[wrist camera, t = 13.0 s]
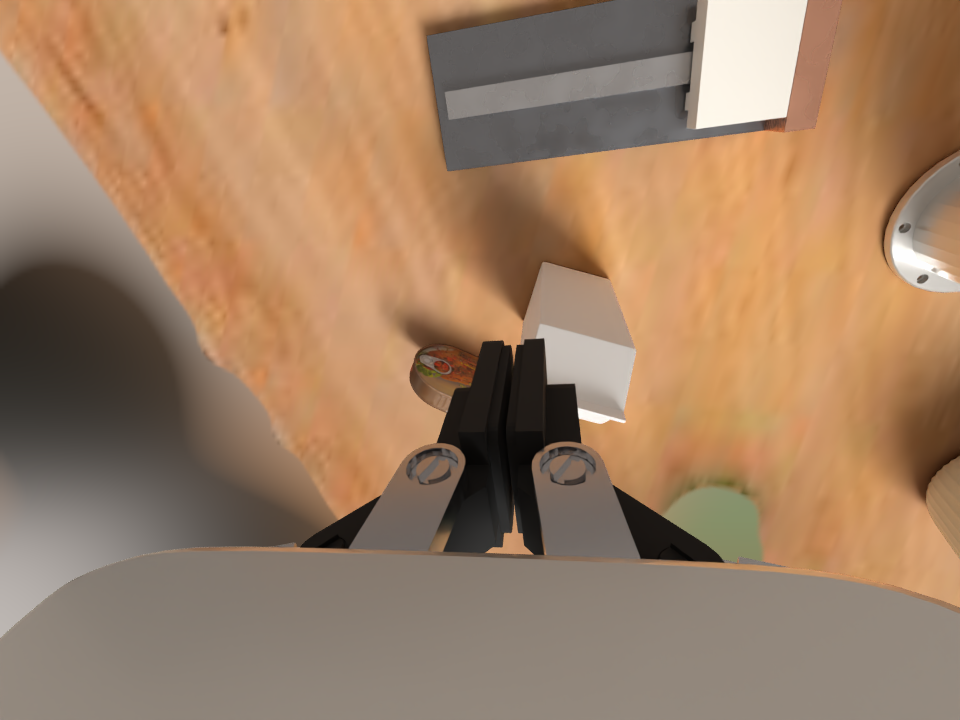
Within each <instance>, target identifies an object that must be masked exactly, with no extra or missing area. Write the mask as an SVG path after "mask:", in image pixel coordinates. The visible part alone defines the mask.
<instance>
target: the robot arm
mask: <svg viewBox="0 0 960 720" xmlns="http://www.w3.org/2000/svg"><path fill="white" fill-rule="evenodd" d="M884 250H885V257H886V260H887V262H888V265H889V267H890V268H891V270H892V271H893V272H894V274H895V275H896V276H898V277H899V278H900V279H902V280H903V281H904V282H906V283H908V284H910V285H912V286H914V287H916V288H919V289H923V290H926V291H930V292H940V293H949V292H960V150H959V151H957V152H956V153H954V154H952V155H950V156H949V157H947V158H945V159H944V160H942V161H940V162H939V163H938V164H936V165H935V166H934V167H932V168H931V169H930V170H928V171H927V172H926V173H925V174H923V175H922V176H921V177H920V178H919V179H918V180H917V181H916V182H915V183H914V184H913V185H912V186H911V187H910V188H909V190H908V191H907V192H906V194H905V195H904V196H903V197H902V199H901V200H900V201H899V203H898V205H897V206H896V208H895V210H894V212H893V213H892V215H891V217H890V220H889V223H888V226H887V228H886V233H885V239H884ZM514 504H515V512H516V520H517V528H518V533H523V539H524V546H525V547H527V548H528V549H529V550H530V551H531V552H532V553H533V554H534V555H525V554H495V553H485V552H487V551H488V550H489V549H491V548H492V547H503V537H504V533H512V526H513V514H514ZM0 720H960V608H959V607H957V606H954V605H952V604H949V603H946V602H944V601H941V600H938V599H935V598H931V597H928V596H925V595H922V594H919V593H916V592H912V591H909V590H906V589H903V588H900V587H896V586H893V585H889V584H884V583H880V582H876V581H871V580H867V579H863V578H858V577H854V576H849V575H844V574H837V573H830V572H824V571H817V570H810V569H802V568H790V567H785V566H780V565H776V564H771V563H766V562H762V561H757V560H752V559H748V558H743V557H738V560H737V563H736V562H731V561H727V560H722V558H721V557H720V556H719V555H718V554H717V553H716V552H715V551H714V550H712V549H711V548H710V547H709V546H707V545H706V544H704V543H703V542H701V541H700V540H698V539H696V538H695V537H694V536H692V535H690V534H689V533H687V532H686V531H684V530H683V529H681V528H679V527H678V526H676V525H675V524H673V523H671V522H670V521H669V520H667V519H665V518H664V517H662V516H661V515H659V514H658V513H656V512H654V511H653V510H651V509H650V508H648V507H647V506H645V505H643V504H642V503H640V502H639V501H637V500H636V499H634V498H633V497H631V496H629V495H628V494H626V493H625V492H623V491H622V490H620V489H618V488H617V487H615V486H614V485H612V483H611V480H610V477H609V475H608V472H607V470H606V467H605V464H604V462H603V460H602V458H601V457H600V455H599V454H598V453H597V452H596V451H595V450H593V449H592V448H590V447H588V446H586V445H584V444H581V435H580V425H579V415H578V406H577V396H576V386H575V384H547V369H546V353H545V340H544V338H540V339H524V345H517V347H516V354H515V362H514V365H513V355H512V347H511V345H506V346H504V342H503V341H486V342H483V344H482V347H481V351H480V354H479V358H478V362H477V365H476V369H475V372H474V376H473V380H472V383H471V387H465V388H456V389H455V390H454V393H453V396H452V399H451V402H450V405H449V408H448V411H447V414H446V417H445V420H444V423H443V426H442V429H441V432H440V435H439V438H438V441H437V443H435V444H430V445H425V446H423V447H420V448H418V449H416V450H414V451H413V452H412V453H410V454H409V455H407V457H406V458H405V459H404V460H403V461H402V463H401V464H400V466H399V468H398V469H397V471H396V472H395V474H394V476H393V477H392V479H391V481H390V482H389V484H388V485H387V487H386V489H385V490H384V492H383V494H382V495H380V496H379V497H377V498H375V499H374V500H372V501H370V502H369V503H367V504H365V505H364V506H362V507H360V508H359V509H357V510H355V511H353V512H352V513H350V514H348V515H347V516H345V517H343V518H342V519H340V520H338V521H337V522H335V523H333V524H331V525H330V526H328V527H326V528H325V529H323V530H322V531H320V532H318V533H316V534H315V535H313V536H312V537H311V538H309V539H308V540H307V541H305V542H304V543H303V544H302V546H301V547H300V548H297V546H296V544H295V543H290V544H285V545H279V546H274V547H200V548H199V547H198V548H185V549H175V550H166V551H160V552H155V553H150V554H145V555H140V556H136V557H132V558H129V559H126V560H123V561H119V562H116V563H113V564H109V565H106V566H103V567H101V568H98V569H96V570H93V571H91V572H89V573H86V574H84V575H82V576H80V577H78V578H76V579H74V580H72V581H70V582H68V583H67V584H65V585H64V586H62V587H61V588H59V589H58V590H57V591H55V592H54V593H53V594H51V595H50V596H48V597H47V598H46V599H45V600H43V601H42V602H41V603H40V604H39V605H38V606H36V607H35V608H34V609H33V610H32V611H30V612H29V613H28V614H27V615H26V616H25V617H23V618H22V619H21V620H20V621H19V622H17V623H16V624H15V625H14V626H13V627H12V628H11V629H10V630H9V631H8V632H7V633H5V634H4V635H3V636H2V637H1V638H0Z"/></svg>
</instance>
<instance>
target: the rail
mask: <svg viewBox="0 0 960 720" xmlns="http://www.w3.org/2000/svg"><path fill="white" fill-rule="evenodd" d="M697 2H698V0H614V1H608V2H603V3H598V4H592V5H587V6H582V7H577V8H571V9H566V10H561V11H556V12H550V13H545V14H540V15H534V16H529V17H524V18H519V19H513V20H508V21H503V22H498V23H492V24H487V25H482V26H476V27H471V28H466V29H461V30H455V31H450V32H445V33H439V34H434V35H429V36H427V42H428V48H429V55H430V61H431V68H432V74H433V81H434V87H435V94H436V100H437V107H438V113H439V120H440V126H441V133H442V139H443V146H444V152H445V159H446V165H447V171H454V170H462V169H470V168H477V167H485V166H493V165H500V164H508V163H516V162H524V161H531V160H539V159H547V158H554V157H562V156H570V155H578V154H585V153H593V152H601V151H608V150H616V149H624V148H632V147H639V146H647V145H655V144H662V143H670V142H678V141H686V140H693V139H701V138H709V137H716V136H724V135H732V134H739V133H747V132H755V131H763V130H765V131H776V132H790V131H798V130H806V129H814V128H815V127H816V122H817V117H818V112H819V108H820V103H821V98H822V94H823V89H824V84H825V80H826V75H827V70H828V65H829V61H830V56H831V51H832V47H833V42H834V37H835V33H836V28H837V23H838V18H839V14H840V9H841V4H842V0H808V1H807V7H806V12H805V18H804V23H803V29H802V34H801V40H800V45H799V51H798V56H797V62H796V67H795V73H794V78H793V84H792V89H791V94H790V100H789V105H788V111H787V116H786V117H783V118H776V119H768V120H761V121H753V122H746V123H738V124H731V125H723V126H716V127H708V128H701V129H691V128H687V118H688V110H685V100H686V93H689V92H690V83H691V71H692V60H693V48H694V42H692V43H690V40H691V28H692V22H694V21H696V14H697Z"/></svg>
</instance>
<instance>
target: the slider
mask: <svg viewBox="0 0 960 720" xmlns="http://www.w3.org/2000/svg"><path fill="white" fill-rule="evenodd" d="M807 1H808V0H698V2H697V14H696V21H694V22H692V28H691V40H690V43H692V42H694V48H693V60H692V71H691V83H690V92H689V93H686V100H685V110H688V118H687V128H691V129H701V128H708V127H716V126H723V125H731V124H738V123H746V122H753V121H761V120H768V119H776V118H783V117H786V116H787V111H788V105H789V100H790V94H791V89H792V84H793V78H794V73H795V67H796V62H797V56H798V51H799V45H800V40H801V34H802V29H803V23H804V18H805V12H806V7H807Z"/></svg>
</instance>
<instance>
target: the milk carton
mask: <svg viewBox="0 0 960 720" xmlns="http://www.w3.org/2000/svg"><path fill="white" fill-rule="evenodd" d="M540 338H544V340H545V353H546V369H547V384H575V386H576V396H577V406H578V415H579V418H580V419H583V420H587V421H591V422H595V423H599V424H602V423H604V422H606V421H608V420H610V419H611V420H614V421H618V422H622V423H625V422H626V419H625V415H624V408H625V403H626V398H627V393H628V389H629V384H630V379H631V374H632V369H633V364H634V360H635V355H636V349H635V346H634V343H633V341H632V338H631V335H630V333H629V330H628V327H627V324H626V322H625V319H624V316H623V313H622V311H621V308H620V305H619V303H618V300H617V297H616V294H615V292H614V289H613V286H612V284H611V281H610V280H609V279H606V278H603V277H599V276H595V275H592V274H588V273H584V272H581V271H577V270H573V269H570V268H566V267H562V266H558V265H555V264H551V263H547V262H542V265H541V268H540V271H539V274H538V277H537V280H536V284H535V287H534V290H533V293H532V296H531V299H530V303H529V306H528V309H527V312H526V315H525V318H524V322H523V328H522V337H521V345H524V339H540Z"/></svg>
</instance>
